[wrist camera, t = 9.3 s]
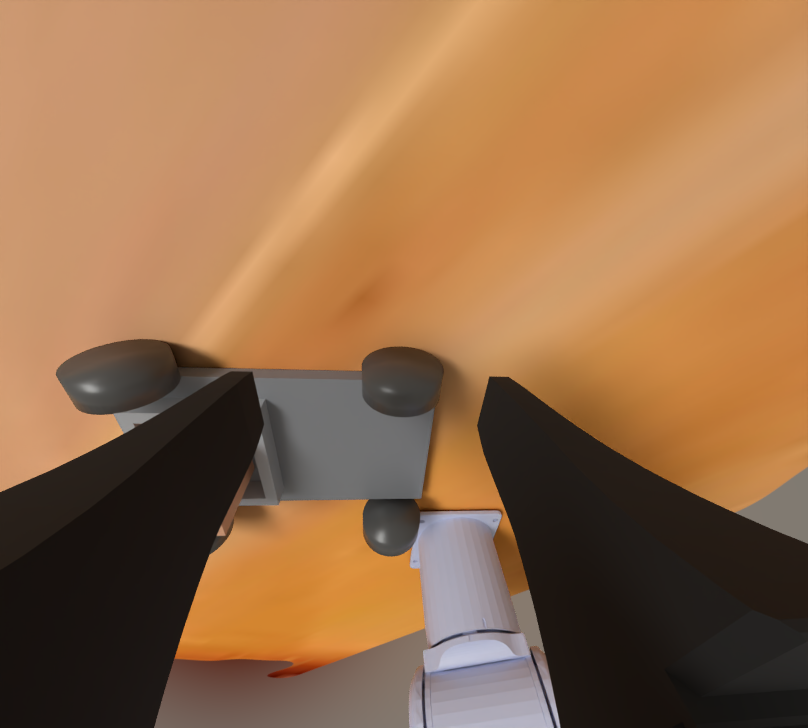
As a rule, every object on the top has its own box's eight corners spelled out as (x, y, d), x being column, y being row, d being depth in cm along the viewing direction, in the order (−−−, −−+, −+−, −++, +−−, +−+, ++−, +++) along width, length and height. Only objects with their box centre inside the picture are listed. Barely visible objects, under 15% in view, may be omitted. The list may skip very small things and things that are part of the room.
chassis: (417, 501, 28) (423, 555, 24) (183, 505, 26) (148, 563, 22) (439, 347, 20) (454, 391, 16) (100, 338, 18) (22, 383, 14)
